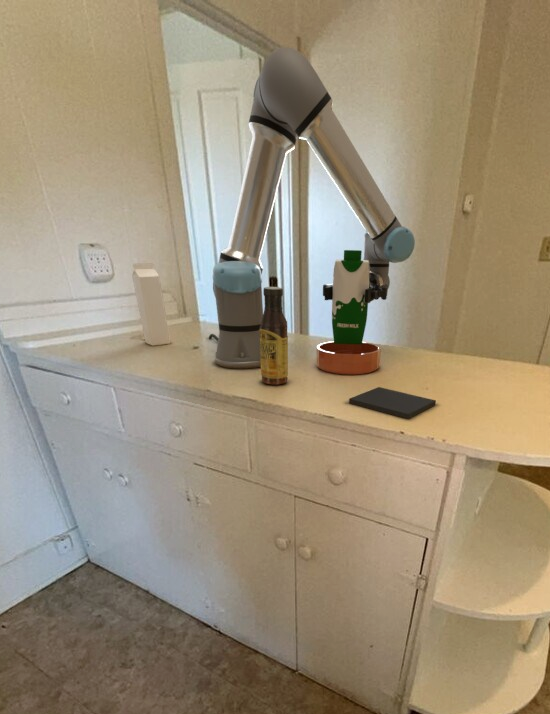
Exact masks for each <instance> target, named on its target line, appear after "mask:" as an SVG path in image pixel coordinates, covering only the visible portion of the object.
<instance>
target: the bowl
mask: <svg viewBox="0 0 550 714" xmlns="http://www.w3.org/2000/svg"><path fill="white" fill-rule="evenodd" d="M380 361H381V346H379V345H378V344H375V343H371V342H365V341H362V345H357V344H334V340H333V341H327V342H323V343H320V344H318V345H316V366H317V367H318V369H320V370H321V371H323V372H326V373H330V374H335V375H346V376H350V375H351V376H352V375H353V376H355V375H365V374H370V373H373V372H375V371H377V369H379V368H380V363H381V362H380Z"/></svg>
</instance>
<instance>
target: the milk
mask: <svg viewBox="0 0 550 714" xmlns="http://www.w3.org/2000/svg"><path fill="white" fill-rule="evenodd" d="M132 266H133V272H132V275H131V277H132V281H133V287H134V291H135V296H136V301H137V306H138V311H139V317H140V320H141V321H140V322H141V326H142V331H143V336H144V341H145V343H146V344H148V345H150V346H152V347H153V346H160V345H162V346H163V345H169V344H171V337H170V331H169V325H168V319H167V313H166V309H165V308H166V307H165V303H164V302H165V301H164V296H163V291H162V284H161V278H160V275H159V273H158V272H157V270H156V269H155V264H154V262H147V263H146V262H145V263H143V262H142V263H141V262H140V263H137V262H136V263H133V265H132Z"/></svg>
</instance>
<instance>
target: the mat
mask: <svg viewBox="0 0 550 714" xmlns="http://www.w3.org/2000/svg"><path fill="white" fill-rule="evenodd" d="M436 402H437V400H436V399H431V398H427V397H423V396H420V395H414V394H411V393H406V392H402V391H398V390H394V389H389V388H385V387H381V386H378V387H375V388H372V389H370V390H367V391H364V392H362V393H360V394H357V395H354V396H352V397H349V399H348V403H349V404H351V405H354V406H359V407H361V408H366V409H369V410H374V411H375V412H376V411H377V412H380V413H384V414H388V415H392V416H395V417H398V418H403V419H406V420H409V419H412V418H413V417H415V416H417V415H419V414H421V413H423V412H425V411H426V410H429V409H430V408H432V407H434V406H436Z"/></svg>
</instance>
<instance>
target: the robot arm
mask: <svg viewBox="0 0 550 714" xmlns="http://www.w3.org/2000/svg"><path fill="white" fill-rule="evenodd" d="M248 129H249V132H250V134H251V142H250V147H249V150H248V156H247V159H246V165H245V169H244V173H243V177H242V183H241V187H240V188H241V189H240V192H239V195H238V200H237V205H236V210H235V214H234V218H233V223H232V227H231V231H230V236H229V241H228V245H227V246H226V247H225V248H224V249H222V250H221V251H220V255H219V259H218V263H215V264H214V265H213V268H212V290H213V295H214V297H215V303H216V304H215V305H216V313H217V322H218V332H219V333H218V336H217V335H216V334H214V333H210V334H209V335H208V340H212V338H213V339H214V340H215V341H216V342H217V345H216V351H215V354H214V357H215V359H214V360H215V364H216V365H217V366H219V367H223V368H226V369H227V368H228V369H239V370H240V369H257V368H261V357H260V325H261V321H262V317H263V313H264V306H263V291H262V290H263V288H262V283H263V278H262V274H263V270H264V267H263V265H262V262H261V259H260V258H261V255H262V250H263V247H264V243H265V239H266V235H267V231H268V227H269V223H270V220H271V215H272V212H273V208H274V203H275V200H276V196H277V193H278V187H279V185H280V180H281V177H282V172H283V169H284V166H285V165H284V164H285V161H286V156H287V154H288V153H289V152H292V151H293V150H294V149H295V147H296V143H297V139H301V140H306V142H307V144H308V145H309V146H310V148H311V149H312V152H314V154H315V156H316V157H317V158H318V160H319V162H320V163H321V165H322V166H323V168H324V169H325V170H326V172H327V174H328V175H329V177H330V179H331V180H332V182H333V183H334V184H335V186H336V188H337V189H338V190H339V192H340V194H341V195H342V196H343V198H344V200H345V201H346V202H347V204H348V206H349V208H350V209H351V210H352V212H353V213H354V215H355V217H356V218H357V219H358V221H359V222H360V224H361V225H362V227H363V228H364V237H363V238H364V243H363V244H364V245H363V260H368V261H369V262H368V264H369V267H370V272H369V288H368V289H365V303H368V304H370V303H371V302H373V301H375V300H376V301H377V300H379V299H381V300H382V301H385V300H387V298H388V290H389V288H390V285H391V278H390V276H389V271H390V263H393V264H398V263H402V262H405V261H407V260H408V259H410V257H411V255H412V254H413V253H414V250H415V245H416V242H415V236H414V233H413V232H412V231H411V230H410V229H409V228H407V227H405V226H402V223H401V222H400V221H399V219H398V218H397V216H396V215H395V212H394V211H393V210H392V208H391V205H390V204H389V203H388V202H387V199H386V198H385V197H384V194H383V193H382V191H381V189H380V188H379V186H378V184H377V183H376V181H375V179H374V178H373V176H372V174H371V173H370V172H369V169H368V168H367V166H366V164H365V162H364V161H363V159H362V157H361V156H360V154H359V152H358V151H357V148H356V147H355V146H354V144H353V142H352V141H351V139H350V136H348V134H347V133H346V131H345V129H344V128H343V126H342V124H341V122H340V120H339V118H338V117H337V115H336V114H335V112H334V110H333V99H332V97H331V95H330V93H329V92H328V90H327V88H326V87H325V85H324V83H323V82H322V79H321V78H320V76H319V75H318V73H317V72H316V70H315V68H314V67H313V65H312V64H311V63H310V61H309V60H308V58H306V56H305V55H304V54H303V53H302V52H300V51H299V50H297V49H296V48H294V47H290V46H282V47H278V48H276V49H274V50H273V51H272V52H271V53H269V54H268V56H267V57H266V59H265V60H264V62H263V65H262V68H261V71H260V73H259V75H258V77H257V79H256V81H255V85H254V89H253V101H252V106H251V111H250V114H249V120H248ZM322 296H323V297H324V301H332V297H333V283H327V284H326V283H324V284H322Z"/></svg>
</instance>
